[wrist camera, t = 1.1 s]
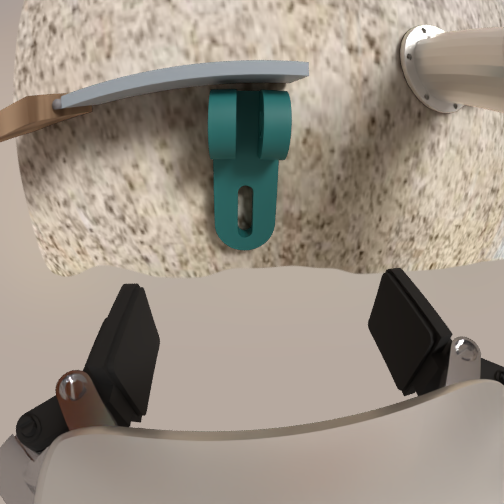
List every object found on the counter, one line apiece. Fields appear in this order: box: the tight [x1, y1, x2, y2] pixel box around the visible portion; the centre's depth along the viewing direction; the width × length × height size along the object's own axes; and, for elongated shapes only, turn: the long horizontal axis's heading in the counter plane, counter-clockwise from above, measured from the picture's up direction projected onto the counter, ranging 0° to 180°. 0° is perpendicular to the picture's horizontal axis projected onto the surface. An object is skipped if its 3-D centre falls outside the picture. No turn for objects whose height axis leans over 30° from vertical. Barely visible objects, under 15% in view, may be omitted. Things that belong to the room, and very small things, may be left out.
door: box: [52, 60, 309, 110], centre depth 21 cm, size 22×1×8 cm, turn 92°
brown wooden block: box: [0, 93, 92, 142], centre depth 19 cm, size 10×2×12 cm, turn 92°
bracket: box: [208, 89, 292, 250], centre depth 27 cm, size 18×7×8 cm, turn 179°
